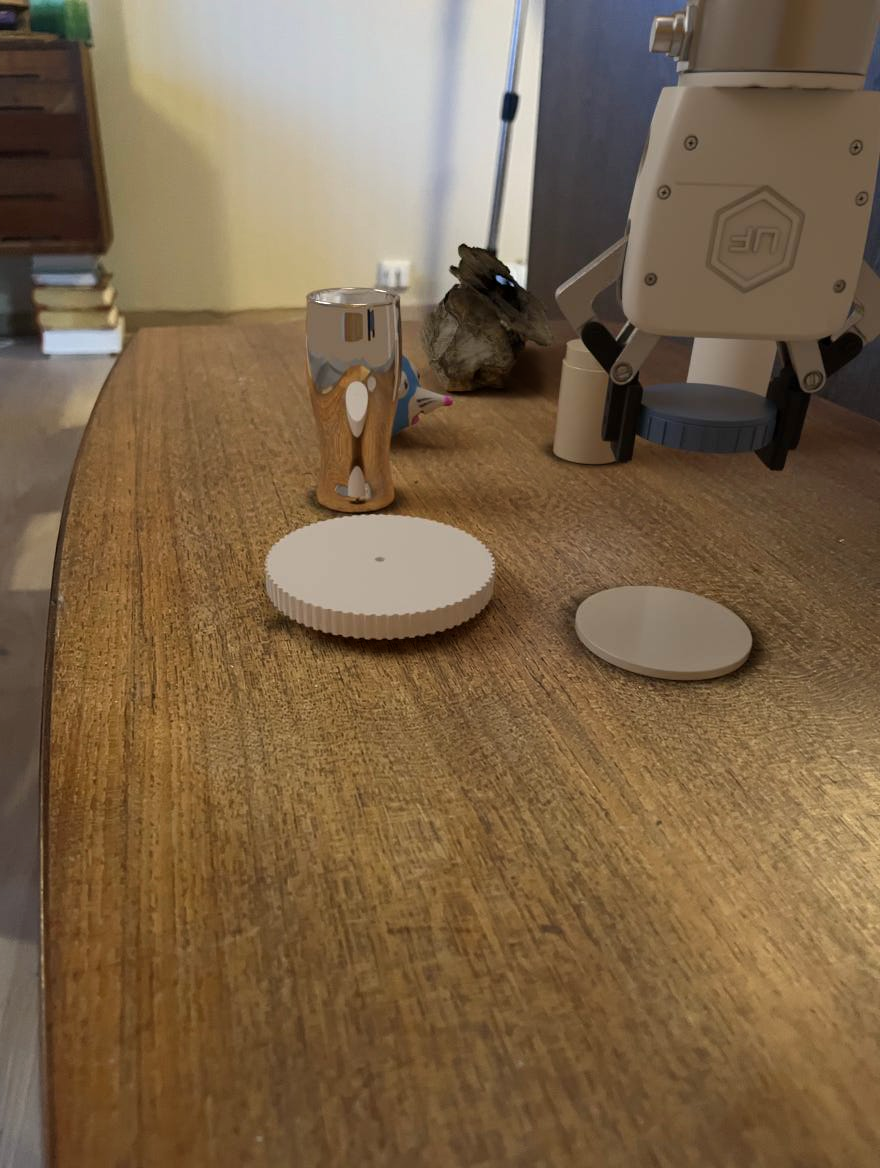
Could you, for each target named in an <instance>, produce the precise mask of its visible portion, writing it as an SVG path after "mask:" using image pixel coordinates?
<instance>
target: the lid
mask: <svg viewBox="0 0 880 1168" xmlns="http://www.w3.org/2000/svg"><path fill="white" fill-rule="evenodd" d="M777 411H778V407H777V406H776V405H775V404H774V403H773V402H772V401H771V400H769V399H768V398H766V397H763V396H761V395H758V394H755V393H752V392H749V391H745V390H741V389H737V388H732V387H726V386H720V385H712V384H702V383H687V382H665V383H657V384H651V385H647V386H644V387H643V395H642V402H641V408H640V414H639V420H638V426H637V432H636V436H638V437H639V438H642V439H643V440H645V441H648V442H651V443H654V444H657V445H659V446H663V447H667V448H670V449H675V450H681V451H686V452H693V453H703V454H721V455H722V454H743V453H749V452H754V450H758V449H760V448H763V447H765V446H766V445H768V444H769V442H770V443H771V441H772V437H773V432H774V428H775V424H776V417H777Z"/></svg>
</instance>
